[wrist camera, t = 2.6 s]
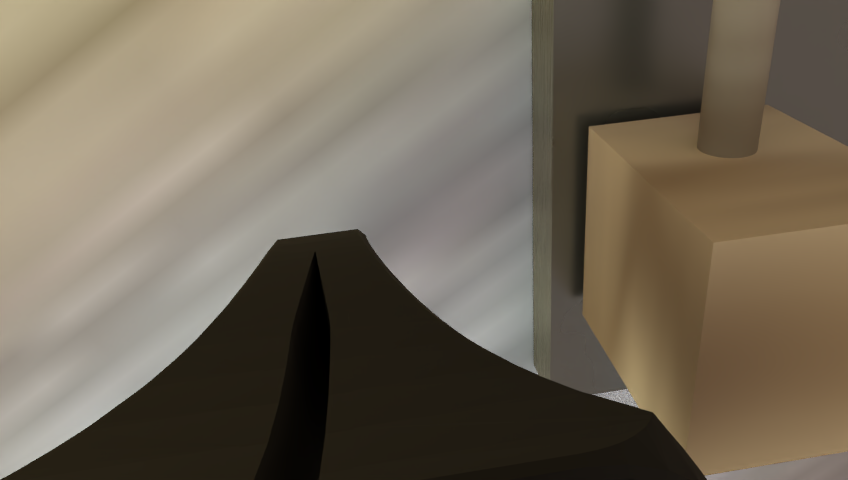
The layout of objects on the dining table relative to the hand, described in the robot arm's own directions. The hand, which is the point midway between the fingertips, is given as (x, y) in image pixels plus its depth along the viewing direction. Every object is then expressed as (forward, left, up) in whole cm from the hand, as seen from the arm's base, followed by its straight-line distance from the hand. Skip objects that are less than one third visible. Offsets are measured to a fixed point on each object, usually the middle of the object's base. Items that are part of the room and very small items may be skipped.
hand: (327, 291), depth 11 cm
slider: (+3, -6, -1) cm, 7 cm away
